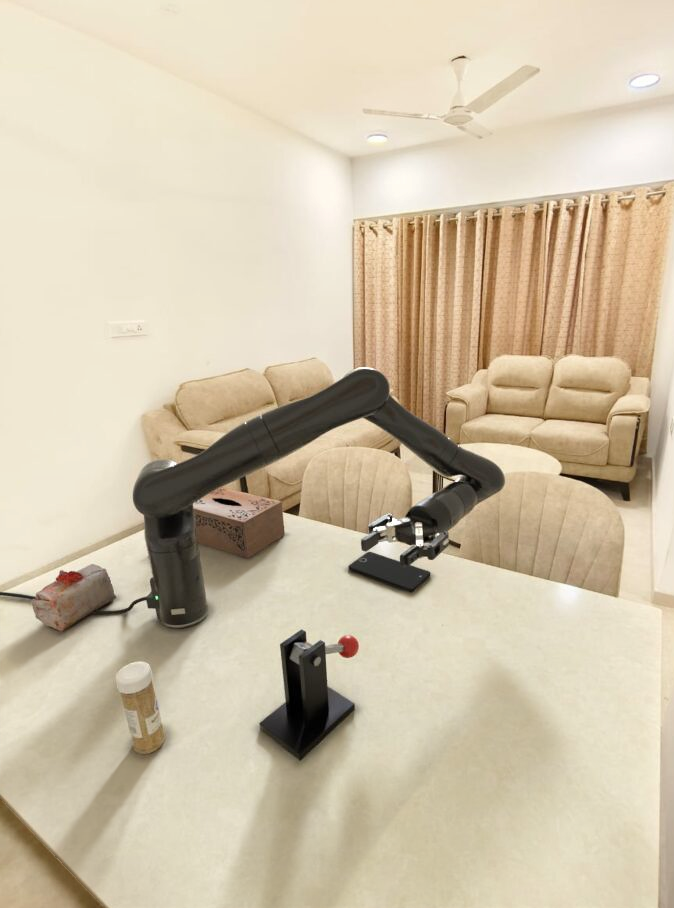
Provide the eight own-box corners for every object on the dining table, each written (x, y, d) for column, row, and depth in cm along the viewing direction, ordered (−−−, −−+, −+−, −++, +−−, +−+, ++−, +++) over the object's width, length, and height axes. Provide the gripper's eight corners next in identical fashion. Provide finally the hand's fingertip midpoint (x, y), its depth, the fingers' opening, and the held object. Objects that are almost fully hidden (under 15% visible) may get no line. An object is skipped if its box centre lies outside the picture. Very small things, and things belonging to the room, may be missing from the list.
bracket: (315, 684, 86) (310, 612, 80) (355, 709, 80) (352, 634, 75) (259, 729, 77) (250, 652, 72) (300, 761, 72) (292, 680, 66)
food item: (60, 637, 98) (47, 594, 94) (34, 626, 101) (21, 585, 97) (120, 600, 109) (110, 561, 106) (95, 591, 112) (85, 553, 109)
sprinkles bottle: (169, 745, 74) (153, 674, 69) (136, 760, 72) (117, 688, 67) (162, 725, 78) (147, 655, 73) (130, 738, 76) (112, 668, 71)
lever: (343, 651, 85) (349, 631, 85) (359, 660, 83) (365, 639, 83) (284, 660, 74) (291, 637, 74) (301, 671, 72) (308, 647, 72)
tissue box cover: (177, 535, 137) (171, 502, 134) (216, 516, 149) (212, 484, 145) (248, 558, 126) (243, 522, 122) (284, 534, 137) (281, 501, 134)
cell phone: (368, 554, 127) (368, 550, 126) (431, 575, 117) (431, 572, 117) (347, 569, 120) (347, 566, 119) (412, 593, 110) (412, 589, 110)
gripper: (405, 488, 97) (348, 523, 87) (468, 506, 89) (414, 547, 78) (407, 522, 101) (352, 560, 90) (469, 542, 92) (416, 586, 81)
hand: (381, 554), depth 84 cm, fingers open, 8 cm apart
